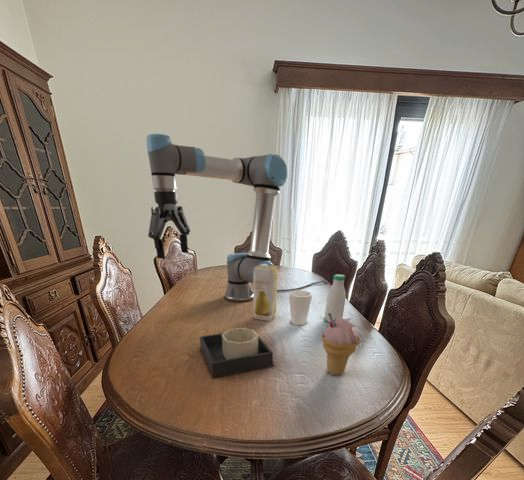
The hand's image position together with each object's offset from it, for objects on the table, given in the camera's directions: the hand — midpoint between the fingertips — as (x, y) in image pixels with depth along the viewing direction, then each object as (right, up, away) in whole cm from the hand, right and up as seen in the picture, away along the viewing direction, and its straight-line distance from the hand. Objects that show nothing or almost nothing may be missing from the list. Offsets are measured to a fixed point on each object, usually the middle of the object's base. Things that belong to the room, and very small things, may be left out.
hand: (173, 255), depth 108 cm
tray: (+24, -38, -10) cm, 46 cm away
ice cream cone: (+57, -43, -17) cm, 73 cm away
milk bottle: (+65, -22, +21) cm, 72 cm away
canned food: (+63, -30, +6) cm, 71 cm away
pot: (+26, -34, -13) cm, 45 cm away
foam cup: (+49, -24, +18) cm, 58 cm away
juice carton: (+35, -21, +22) cm, 46 cm away
